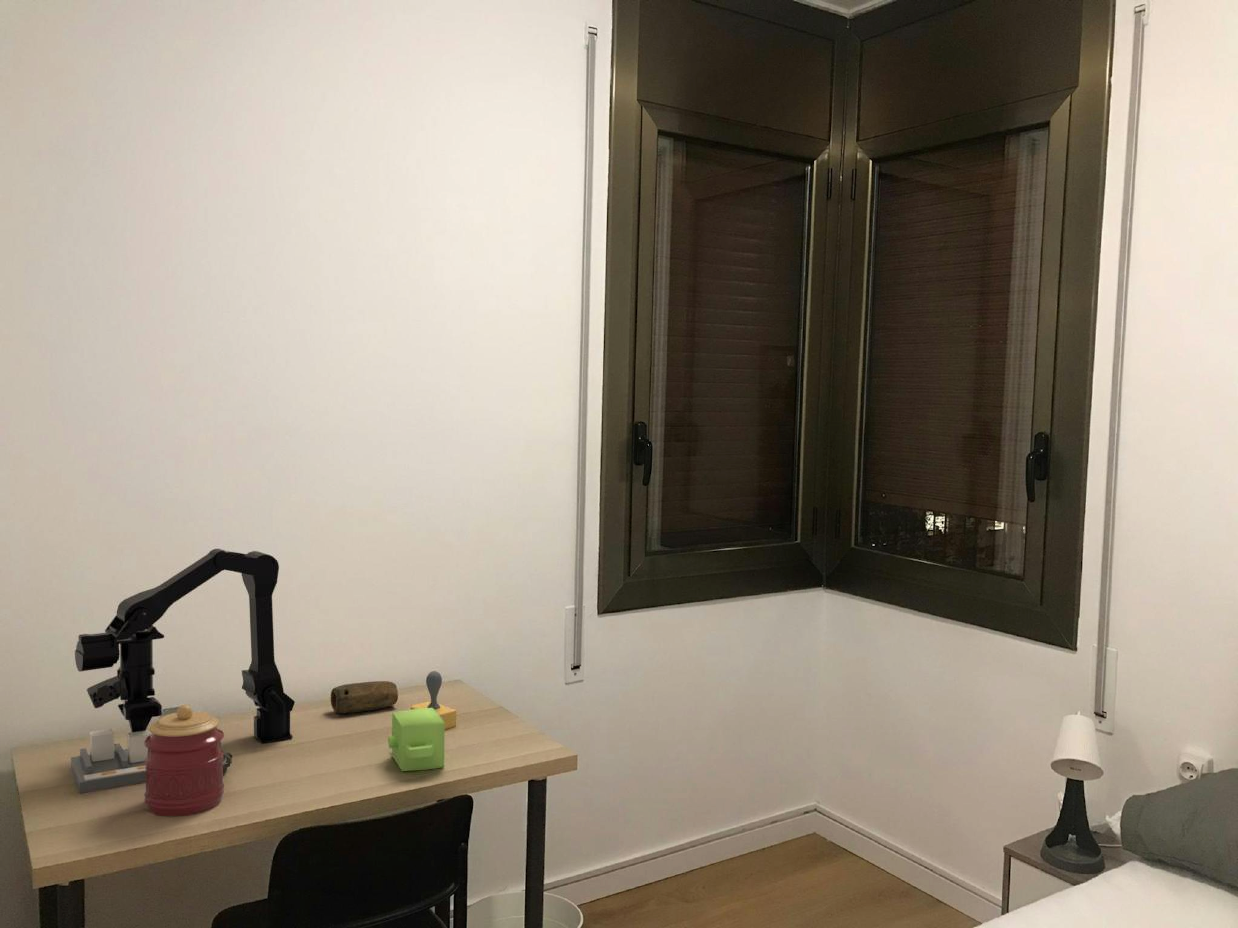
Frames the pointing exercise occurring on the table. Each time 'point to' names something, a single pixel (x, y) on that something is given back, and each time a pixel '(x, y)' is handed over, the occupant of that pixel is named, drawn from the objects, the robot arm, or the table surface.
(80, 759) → the switch panel
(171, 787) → the canister
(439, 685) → the rubber stamp
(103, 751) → the tab
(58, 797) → the table surface
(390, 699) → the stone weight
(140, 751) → the tab
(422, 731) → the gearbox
